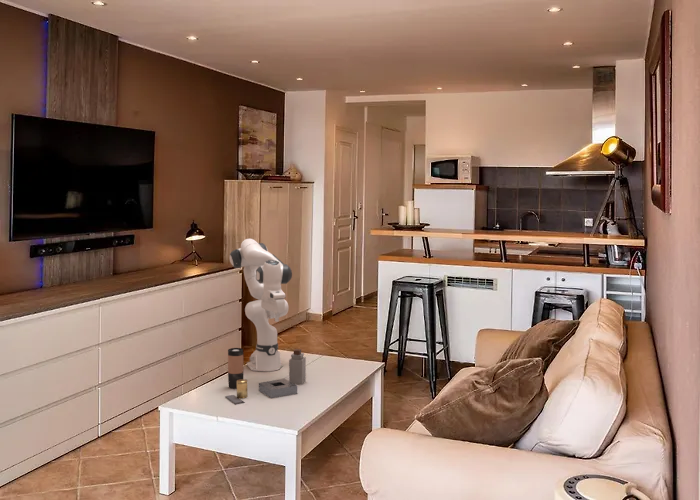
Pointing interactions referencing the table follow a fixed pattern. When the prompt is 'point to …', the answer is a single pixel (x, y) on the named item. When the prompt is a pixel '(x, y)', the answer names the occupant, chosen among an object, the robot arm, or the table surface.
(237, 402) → the mat
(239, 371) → the travel mug
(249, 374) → the table surface
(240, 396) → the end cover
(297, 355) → the grey square bottle
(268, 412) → the table surface
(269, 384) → the housing
